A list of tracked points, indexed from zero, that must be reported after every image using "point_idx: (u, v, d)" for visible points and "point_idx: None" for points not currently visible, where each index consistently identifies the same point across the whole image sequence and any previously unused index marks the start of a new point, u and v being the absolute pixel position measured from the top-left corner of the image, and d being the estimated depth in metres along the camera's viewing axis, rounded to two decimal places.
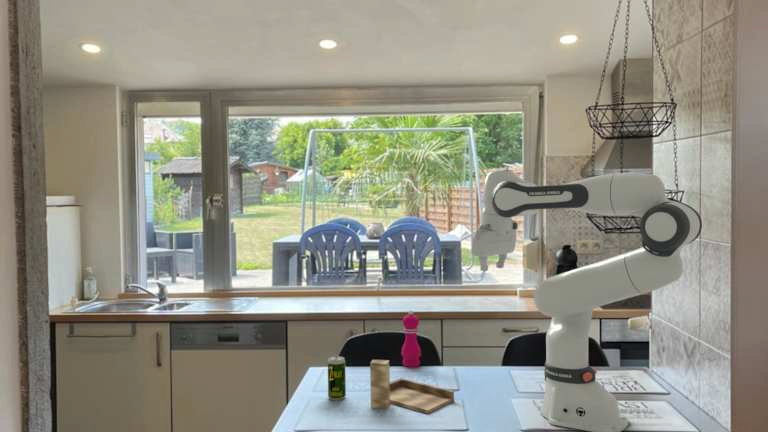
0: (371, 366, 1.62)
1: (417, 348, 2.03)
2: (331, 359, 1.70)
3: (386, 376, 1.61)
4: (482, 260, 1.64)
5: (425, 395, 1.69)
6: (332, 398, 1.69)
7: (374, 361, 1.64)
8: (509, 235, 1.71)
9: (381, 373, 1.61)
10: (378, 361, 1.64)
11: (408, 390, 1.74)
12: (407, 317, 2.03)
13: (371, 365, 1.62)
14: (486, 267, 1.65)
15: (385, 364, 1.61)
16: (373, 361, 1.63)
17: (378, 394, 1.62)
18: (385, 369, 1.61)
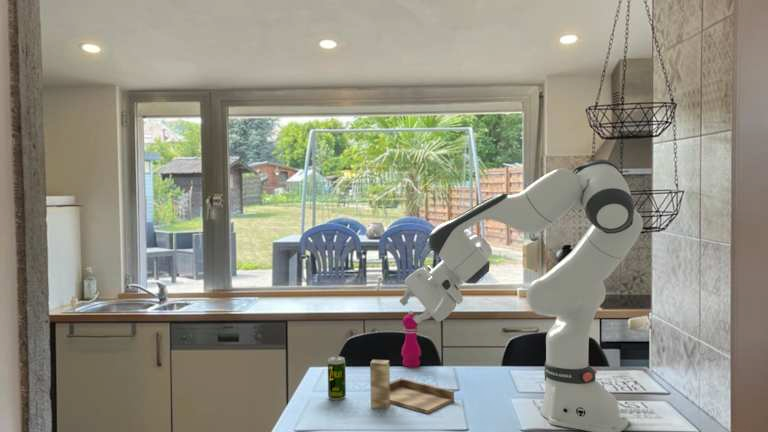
0: (371, 366, 1.62)
1: (417, 348, 2.03)
2: (331, 359, 1.70)
3: (386, 376, 1.61)
4: None
5: (425, 395, 1.69)
6: (332, 398, 1.69)
7: (374, 361, 1.64)
8: (440, 294, 1.56)
9: (381, 373, 1.61)
10: (378, 361, 1.64)
11: (408, 390, 1.74)
12: (407, 317, 2.03)
13: (371, 365, 1.62)
14: (402, 298, 1.65)
15: (385, 364, 1.61)
16: (373, 361, 1.63)
17: (378, 394, 1.62)
18: (385, 369, 1.61)
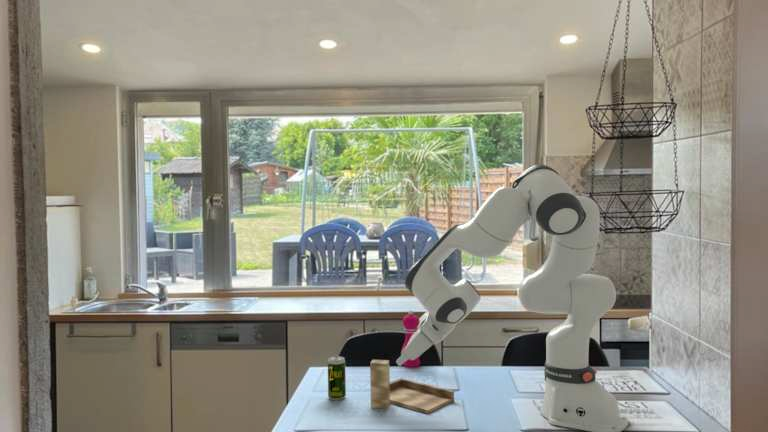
0: (371, 366, 1.62)
1: None
2: (331, 359, 1.70)
3: (386, 376, 1.61)
4: None
5: (425, 395, 1.69)
6: (332, 398, 1.69)
7: (374, 361, 1.64)
8: None
9: (381, 373, 1.61)
10: (378, 361, 1.64)
11: (408, 390, 1.74)
12: (407, 317, 2.03)
13: (371, 365, 1.62)
14: (403, 349, 1.66)
15: (385, 364, 1.61)
16: (373, 361, 1.63)
17: (378, 394, 1.62)
18: (385, 369, 1.61)
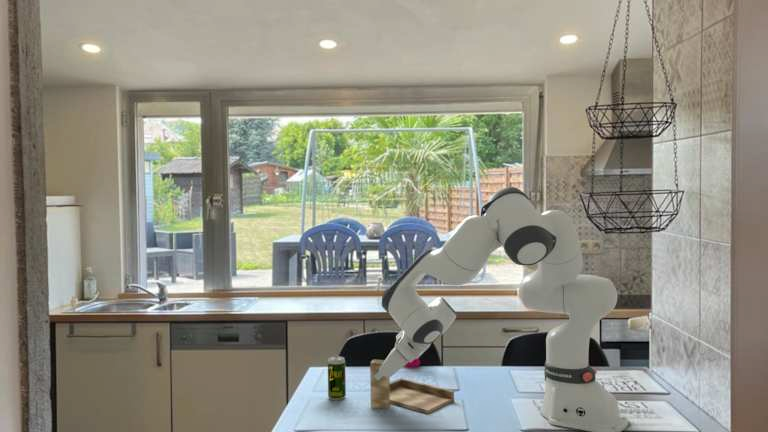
0: (371, 366, 1.62)
1: None
2: (331, 359, 1.70)
3: None
4: None
5: (425, 395, 1.69)
6: (332, 398, 1.69)
7: (374, 361, 1.64)
8: None
9: None
10: (378, 361, 1.64)
11: (408, 390, 1.74)
12: None
13: (371, 365, 1.62)
14: None
15: None
16: (373, 361, 1.63)
17: (378, 394, 1.62)
18: None
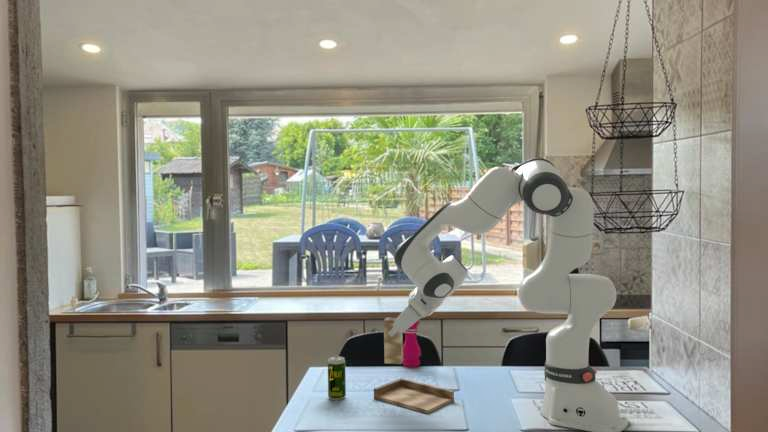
0: (385, 323, 1.66)
1: (417, 348, 2.03)
2: (331, 359, 1.70)
3: (399, 333, 1.66)
4: None
5: (425, 395, 1.69)
6: (332, 398, 1.69)
7: (387, 318, 1.68)
8: None
9: None
10: (391, 318, 1.68)
11: (408, 390, 1.74)
12: None
13: (385, 322, 1.66)
14: None
15: None
16: (386, 318, 1.68)
17: (391, 350, 1.66)
18: None
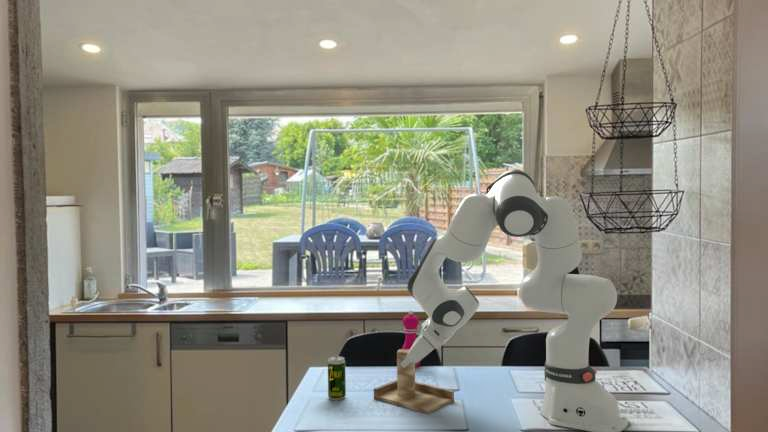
0: (398, 355, 1.70)
1: None
2: (331, 359, 1.70)
3: (412, 365, 1.69)
4: None
5: (425, 395, 1.69)
6: (332, 398, 1.69)
7: (400, 350, 1.71)
8: None
9: None
10: (404, 350, 1.71)
11: None
12: (407, 317, 2.03)
13: (398, 354, 1.70)
14: None
15: None
16: (399, 350, 1.71)
17: (404, 382, 1.69)
18: None
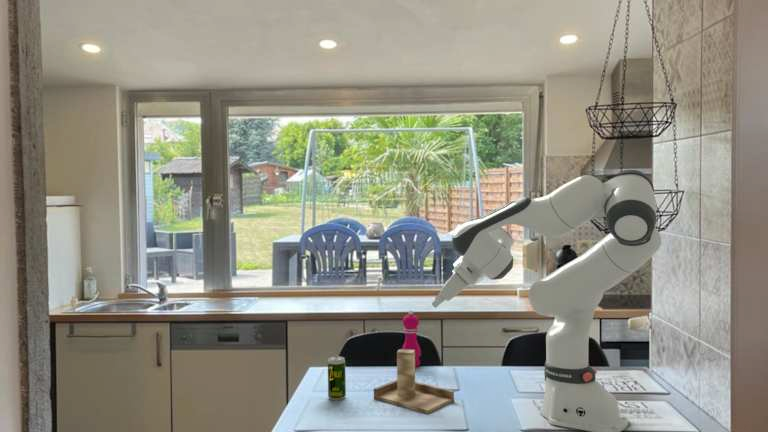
0: (398, 355, 1.70)
1: (417, 348, 2.03)
2: (331, 359, 1.70)
3: (412, 365, 1.69)
4: None
5: (425, 395, 1.69)
6: (332, 398, 1.69)
7: (400, 350, 1.71)
8: None
9: (407, 362, 1.69)
10: (404, 350, 1.71)
11: None
12: (407, 317, 2.03)
13: (398, 354, 1.70)
14: None
15: (411, 353, 1.69)
16: (399, 350, 1.71)
17: (404, 382, 1.69)
18: (411, 358, 1.69)
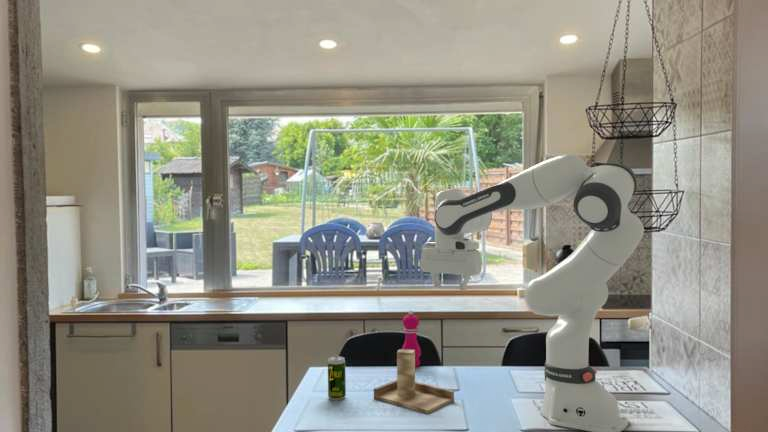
0: (398, 355, 1.70)
1: (417, 348, 2.03)
2: (331, 359, 1.70)
3: (412, 365, 1.69)
4: None
5: (425, 395, 1.69)
6: (332, 398, 1.69)
7: (400, 350, 1.71)
8: (462, 256, 1.64)
9: (407, 362, 1.69)
10: (404, 350, 1.71)
11: None
12: (407, 317, 2.03)
13: (398, 354, 1.70)
14: (434, 283, 1.72)
15: (411, 353, 1.69)
16: (399, 350, 1.71)
17: (404, 382, 1.69)
18: (411, 358, 1.69)
